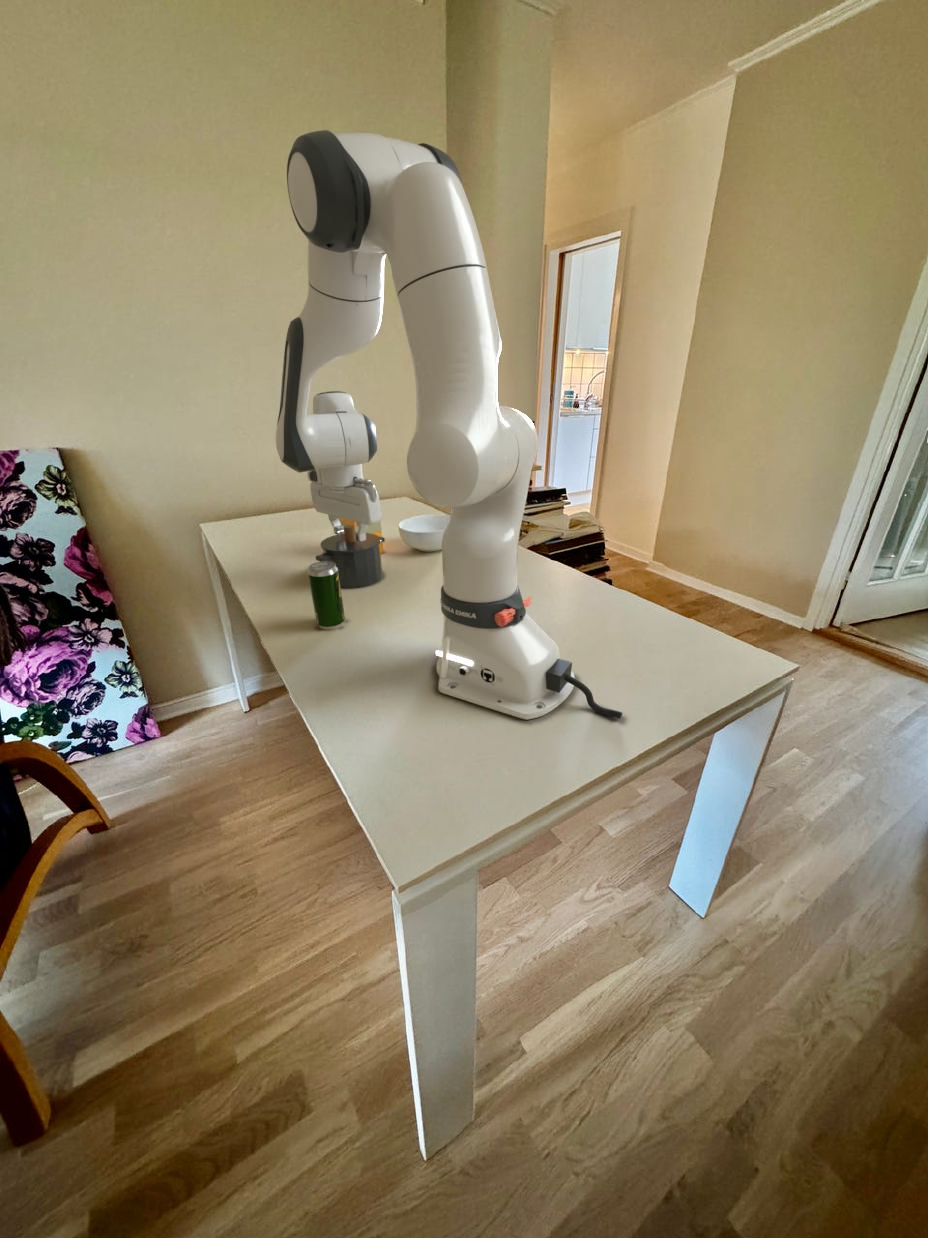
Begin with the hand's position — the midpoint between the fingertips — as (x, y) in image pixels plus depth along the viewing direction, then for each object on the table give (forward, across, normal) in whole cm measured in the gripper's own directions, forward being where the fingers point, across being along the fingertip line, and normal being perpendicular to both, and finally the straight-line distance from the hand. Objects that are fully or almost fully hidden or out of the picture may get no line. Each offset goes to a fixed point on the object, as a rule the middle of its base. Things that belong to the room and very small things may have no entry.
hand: (350, 537), depth 109 cm
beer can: (+10, -15, +18) cm, 25 cm away
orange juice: (+10, +13, -13) cm, 21 cm away
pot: (+10, 0, 0) cm, 10 cm away
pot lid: (+2, 0, 0) cm, 2 cm away
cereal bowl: (+10, +1, -27) cm, 29 cm away
